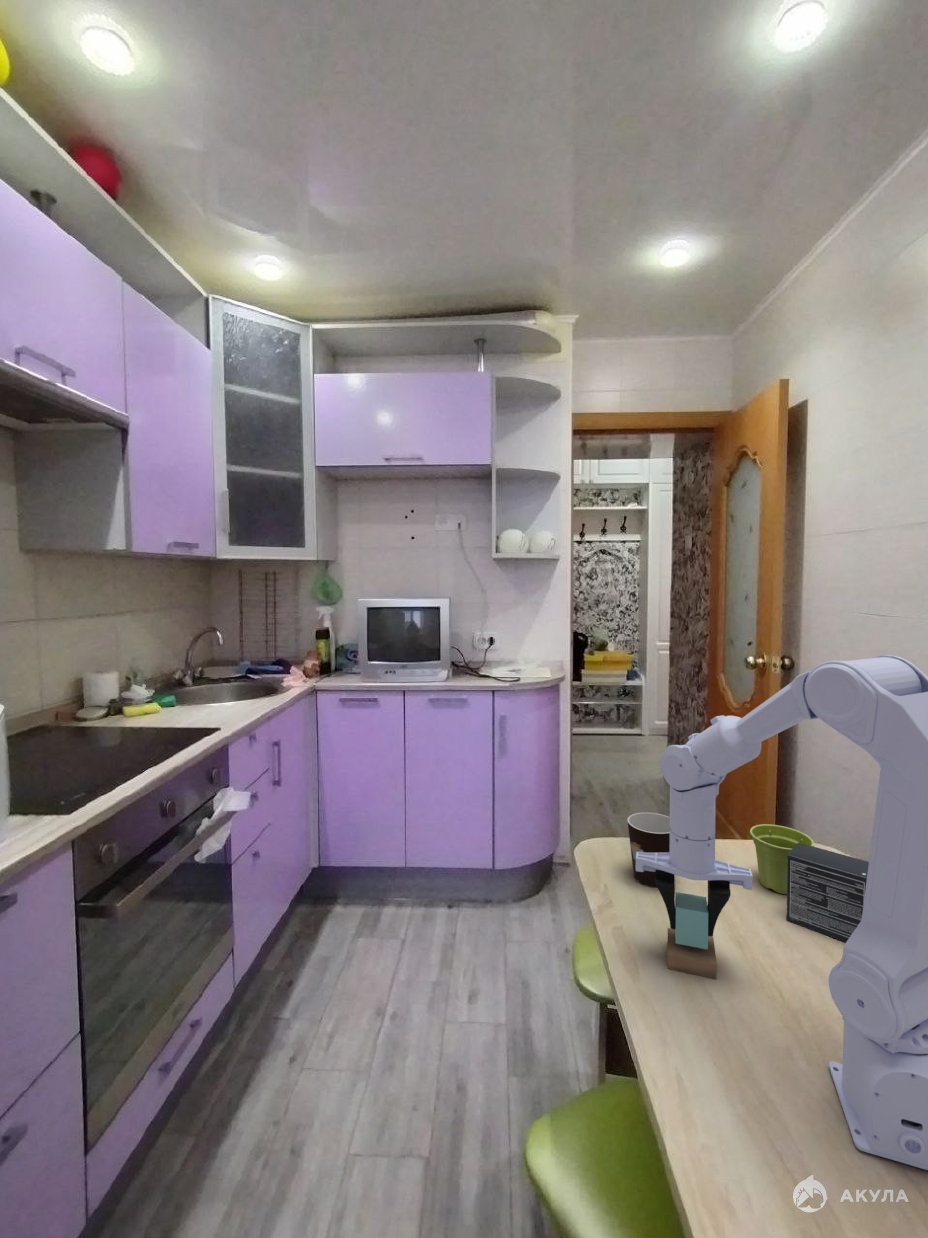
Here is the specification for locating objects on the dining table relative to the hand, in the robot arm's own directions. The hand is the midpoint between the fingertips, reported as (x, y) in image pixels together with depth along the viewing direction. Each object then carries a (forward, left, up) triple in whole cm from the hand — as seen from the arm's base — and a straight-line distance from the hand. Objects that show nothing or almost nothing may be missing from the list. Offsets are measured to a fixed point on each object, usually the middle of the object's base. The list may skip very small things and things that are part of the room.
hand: (691, 928), depth 74 cm
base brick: (0, 0, -4) cm, 4 cm away
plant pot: (+25, -15, -5) cm, 30 cm away
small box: (+15, -20, -5) cm, 25 cm away
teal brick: (0, 0, -1) cm, 1 cm away
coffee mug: (+19, +5, -5) cm, 20 cm away
